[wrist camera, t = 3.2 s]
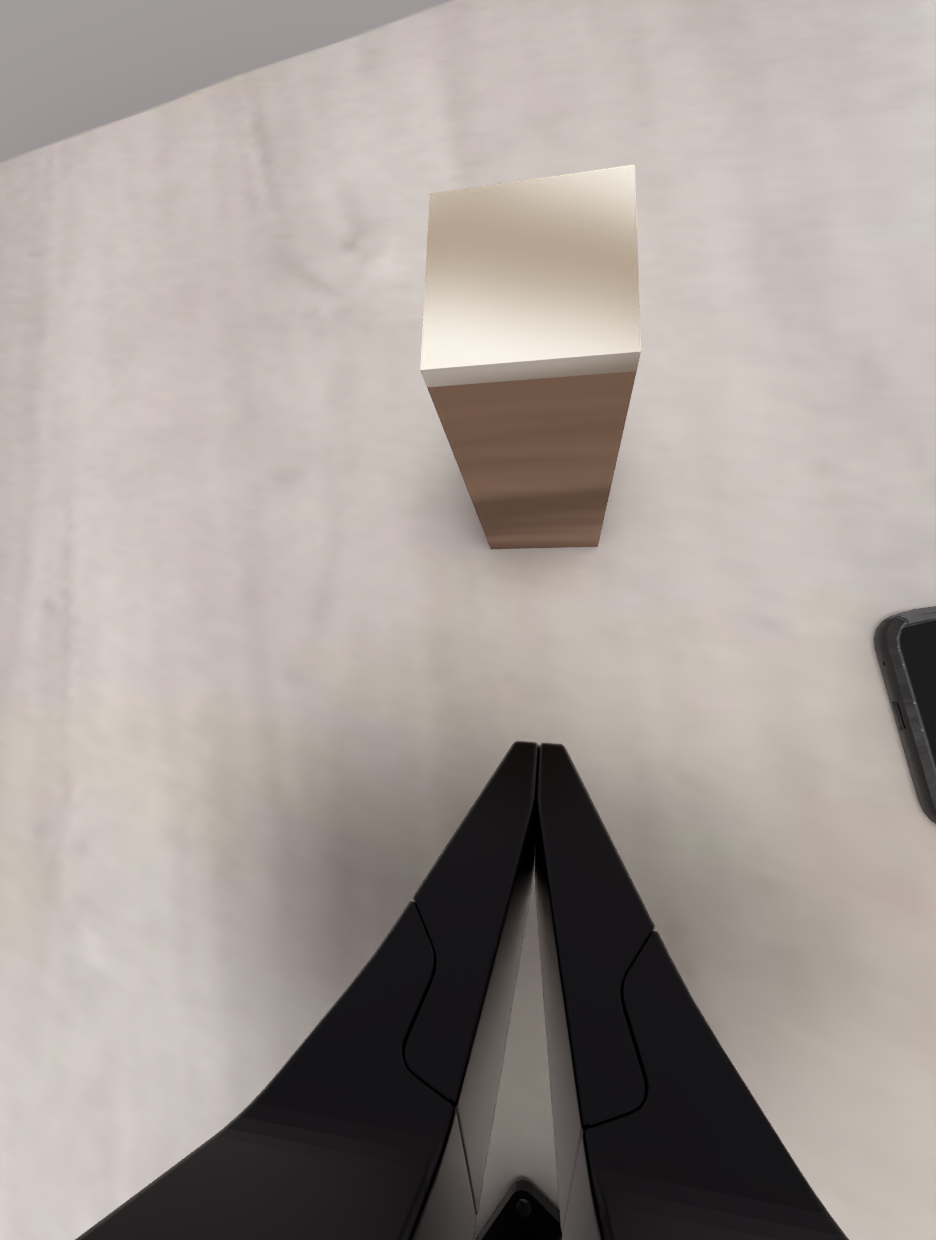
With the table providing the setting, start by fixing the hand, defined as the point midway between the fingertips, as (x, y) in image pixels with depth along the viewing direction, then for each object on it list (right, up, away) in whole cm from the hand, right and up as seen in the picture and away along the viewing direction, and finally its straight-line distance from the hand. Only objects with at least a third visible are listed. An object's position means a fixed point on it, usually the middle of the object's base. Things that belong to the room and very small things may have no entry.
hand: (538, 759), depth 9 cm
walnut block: (+2, +8, +14) cm, 16 cm away
